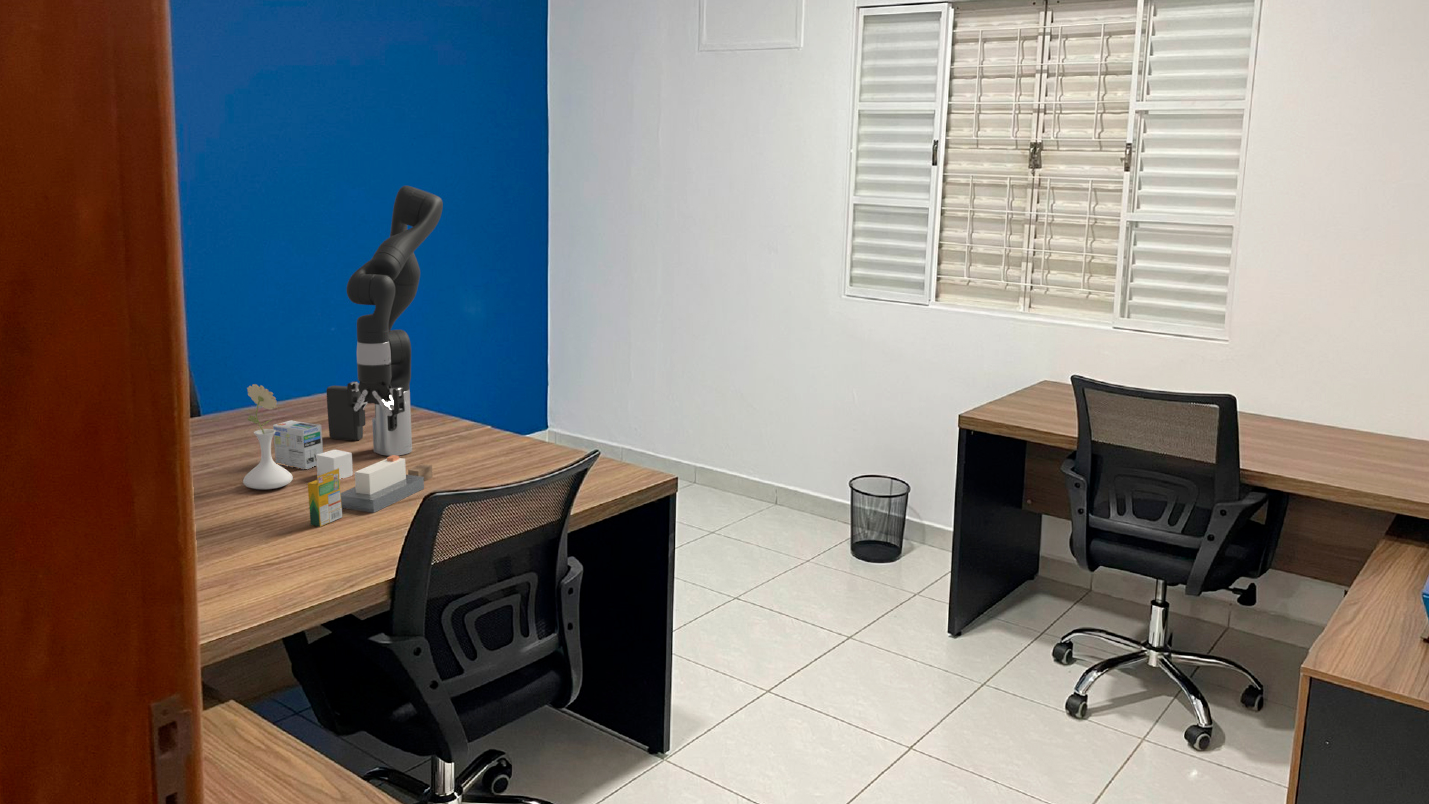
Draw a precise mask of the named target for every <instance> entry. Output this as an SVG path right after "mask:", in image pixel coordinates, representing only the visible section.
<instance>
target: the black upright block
mask: <svg viewBox="0 0 1429 804" xmlns="http://www.w3.org/2000/svg"><path fill="white" fill-rule="evenodd" d="M360 396H361V393H360V391H358V399H359V397H360ZM326 404H327V421H328V435H329V438H330V439H332V440H340V441H341V440H342V441H343V440H344V441H355V440H356V441H359V440H361V439H363V437H364V426H362V427H358V426H357V424H356V417H355V411H354V409H353V408H349V407H348V406H347V385H330V386H328V387H327V388H326Z"/></svg>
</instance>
